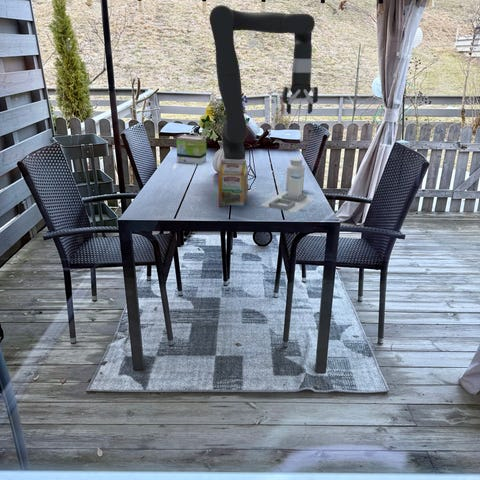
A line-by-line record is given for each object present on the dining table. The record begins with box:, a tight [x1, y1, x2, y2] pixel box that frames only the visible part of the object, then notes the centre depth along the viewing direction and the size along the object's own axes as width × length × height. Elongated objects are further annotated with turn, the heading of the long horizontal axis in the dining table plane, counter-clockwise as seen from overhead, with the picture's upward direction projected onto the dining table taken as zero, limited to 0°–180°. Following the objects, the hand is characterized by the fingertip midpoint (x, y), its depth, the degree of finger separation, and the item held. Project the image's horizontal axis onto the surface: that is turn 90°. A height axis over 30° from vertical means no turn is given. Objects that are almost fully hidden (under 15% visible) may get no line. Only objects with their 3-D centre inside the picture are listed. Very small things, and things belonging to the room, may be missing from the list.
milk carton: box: [217, 158, 249, 208], centre depth 175 cm, size 11×11×19 cm
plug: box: [287, 174, 304, 198], centre depth 180 cm, size 4×5×10 cm
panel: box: [259, 191, 316, 213], centre depth 177 cm, size 21×16×3 cm
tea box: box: [175, 134, 207, 165], centre depth 245 cm, size 15×10×15 cm
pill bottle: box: [285, 157, 305, 192], centre depth 193 cm, size 8×8×15 cm
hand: (299, 113), depth 172 cm, fingers open, 8 cm apart
